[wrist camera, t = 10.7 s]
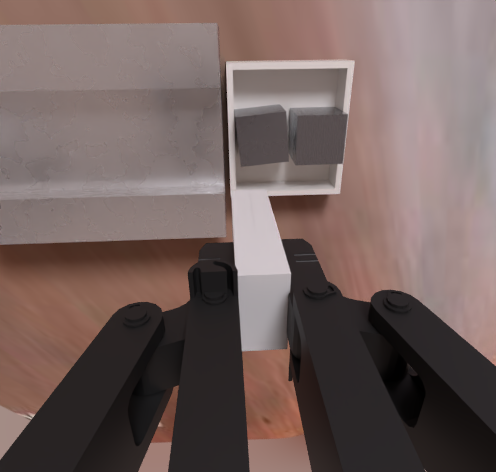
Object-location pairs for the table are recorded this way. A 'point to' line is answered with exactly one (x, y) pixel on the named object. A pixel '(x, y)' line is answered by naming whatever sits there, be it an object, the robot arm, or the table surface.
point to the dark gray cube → (262, 135)
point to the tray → (288, 96)
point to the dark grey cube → (317, 135)
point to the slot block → (110, 133)
